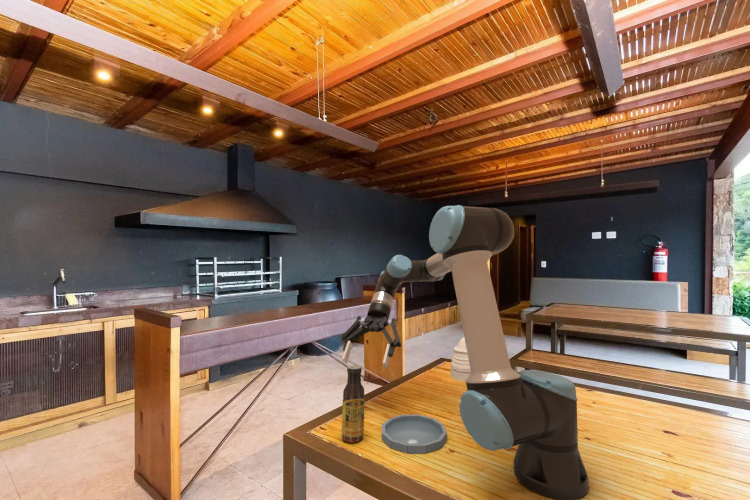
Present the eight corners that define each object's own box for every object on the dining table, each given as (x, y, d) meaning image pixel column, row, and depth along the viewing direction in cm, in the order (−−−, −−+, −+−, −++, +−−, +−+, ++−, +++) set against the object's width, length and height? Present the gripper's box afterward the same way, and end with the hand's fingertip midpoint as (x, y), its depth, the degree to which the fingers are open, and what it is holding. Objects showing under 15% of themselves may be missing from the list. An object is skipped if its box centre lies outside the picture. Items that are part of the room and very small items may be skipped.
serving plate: (451, 453, 89) (451, 445, 89) (381, 453, 89) (381, 445, 89) (440, 421, 107) (440, 414, 107) (381, 421, 107) (381, 414, 107)
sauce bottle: (343, 445, 93) (343, 371, 94) (340, 434, 99) (339, 364, 100) (367, 442, 95) (366, 369, 95) (362, 431, 101) (361, 362, 101)
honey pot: (462, 369, 156) (461, 329, 157) (488, 376, 146) (486, 334, 147) (444, 376, 148) (443, 334, 149) (470, 384, 138) (469, 338, 139)
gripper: (417, 315, 119) (405, 373, 104) (351, 312, 128) (332, 365, 113) (412, 302, 114) (400, 360, 99) (345, 300, 123) (324, 353, 109)
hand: (364, 363), depth 106 cm, fingers open, 13 cm apart
